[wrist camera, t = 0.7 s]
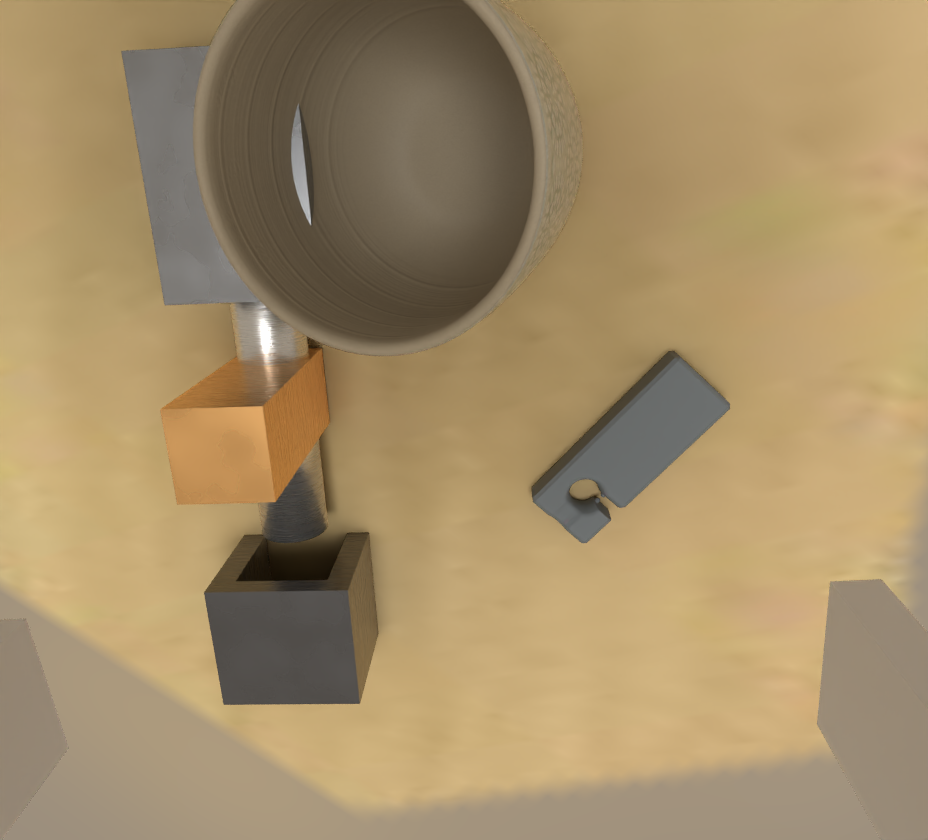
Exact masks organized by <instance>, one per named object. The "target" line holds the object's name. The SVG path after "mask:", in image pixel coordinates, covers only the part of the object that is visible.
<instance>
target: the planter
mask: <svg viewBox="0 0 928 840" xmlns="http://www.w3.org/2000/svg"><path fill="white" fill-rule="evenodd" d="M298 103H299V105H300V108H301V111H302V114H303V118H304V122H305V126H306V130H307V135H308V140H309V145H310V151H311V158H312V167H313V180H314V212H313V221H312V227H311V225H310V223H309V221H308V219H307V217H306V215H305V213H304V211H303V208H302V206H301V203H300V200H299V197H298V194H297V191H296V187H295V182H294V177H293V171H292V161H291V139H292V130H293V123H294V118H295V114H296V110H297V106H298ZM193 148H194V160H195V168H196V174H197V179H198V185H199V189H200V193H201V197H202V201H203V204H204V207H205V210H206V213H207V216H208V219H209V222H210V224H211V227H212V229H213V231H214V234H215V236H216V238H217V240H218V242H219V244H220V246H221V248H222V250H223V252H224V254H225V255H226V257H227V259H228V260H229V262H230V264H231V265H232V267H233V268H234V270H235V271H236V273H237V274H238V275H239V277H240V278H241V280H242V281H243V282H244V283H245V285H246V286H247V287H248V288H249V289H250V291H251V292H252V293H253V294H254V295H255V296H256V297H257V298H258V299H259V300H260V302H262V303H263V304H264V305H265V306H266V307H267V308H268V309H269V310H270V311H271V312H272V313H273V314H275V315H276V316H277V317H278V318H280V319H281V320H282V321H284V322H285V323H286V324H288V325H289V326H291V327H292V328H294V329H295V330H297V331H298V332H300V333H302V334H304V335H305V336H307V337H309V338H311V339H313V340H315V341H317V342H320V343H322V344H324V345H327V346H330V347H333V348H336V349H339V350H342V351H346V352H350V353H355V354H361V355H370V356H397V355H405V354H411V353H416V352H420V351H424V350H427V349H430V348H433V347H436V346H439V345H441V344H443V343H446V342H448V341H450V340H452V339H454V338H455V337H457V336H459V335H461V334H462V333H464V332H466V331H467V330H469V329H470V328H472V327H473V326H475V325H476V324H477V323H479V322H480V321H481V320H483V319H484V318H485V317H487V316H488V315H489V314H490V313H492V312H493V311H494V310H495V309H496V308H497V307H498V306H499V305H501V304H502V303H503V302H504V301H505V300H506V299H507V298H508V297H509V296H510V295H511V294H512V293H513V292H514V291H515V290H516V289H517V288H518V287H519V286H520V285H521V284H522V283H523V282H524V280H525V279H526V278H527V277H528V276H529V275H530V273H531V272H532V271H533V270H534V269H535V268H536V266H537V265H538V264H539V263H540V262H541V260H542V259H543V258H544V257H545V255H546V254H547V253H548V251H549V250H550V248H551V247H552V245H553V244H554V242H555V241H556V239H557V238H558V236H559V234H560V233H561V231H562V229H563V227H564V225H565V223H566V221H567V218H568V216H569V214H570V212H571V209H572V207H573V204H574V201H575V198H576V195H577V191H578V187H579V183H580V177H581V171H582V161H583V138H582V128H581V121H580V116H579V111H578V107H577V104H576V100H575V97H574V94H573V92H572V89H571V87H570V84H569V82H568V80H567V78H566V76H565V74H564V72H563V70H562V68H561V67H560V65H559V63H558V62H557V60H556V59H555V57H554V55H553V54H552V52H551V51H550V50H549V48H548V47H547V46H546V44H545V43H544V42H543V41H542V39H541V38H540V37H539V36H538V35H537V34H536V33H535V32H534V31H533V30H532V28H531V27H530V26H529V25H528V24H527V23H526V22H525V21H524V20H522V19H521V18H520V17H519V16H518V15H517V14H516V13H514V12H513V11H512V10H511V9H510V8H508V7H507V6H506V5H505V4H504V3H503V2H501V1H500V0H236V1H235V3H234V4H233V5H232V7H231V8H230V10H229V11H228V13H227V14H226V16H225V17H224V19H223V21H222V22H221V24H220V26H219V28H218V29H217V31H216V33H215V35H214V37H213V40H212V42H211V44H210V47H209V49H208V52H207V54H206V57H205V60H204V63H203V66H202V70H201V73H200V78H199V82H198V87H197V92H196V98H195V106H194V117H193Z"/></svg>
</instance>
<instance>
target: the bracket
mask: <svg viewBox="0 0 928 840" xmlns="http://www.w3.org/2000/svg"><path fill="white" fill-rule="evenodd" d="M729 409H730V404H729V402H728V401H727V400H726V399H725V398H724V397H723V396H721V395H720V394H719V393H718V392H717V391H716V390H715V389H714V388H713V387H712V386H711V385H710V384H709V383H708V382H707V381H706V380H704V379H703V378H702V377H701V376H700V375H699V374H698V373H697V372H696V371H695V370H694V369H693V368H692V367H691V366H690V365H688V364H687V363H686V362H685V361H684V360H683V359H682V358H681V357H680V356H679V355H678V354H677V353H676V352H674V351H669V352H668V353H667V354H666V355H665V356H664V357H663V358H662V359H661V360H660V361H659V362H658V363H657V364H656V365H655V366H654V367H653V368H652V369H651V370H649V371H648V372H647V373H646V374H645V375H644V376H643V377H642V378H641V379H640V380H639V381H638V382H637V383H636V384H635V385H634V386H633V387H632V388H631V389H630V390H629V391H628V392H627V393H626V394H625V395H624V396H623V397H622V398H621V399H620V400H619V401H618V402H617V403H616V404H615V405H614V406H613V407H612V408H611V409H610V410H609V411H608V412H607V413H606V414H605V415H604V416H603V417H602V418H601V419H600V420H599V421H598V422H597V423H596V424H595V425H594V426H593V427H592V428H591V429H590V430H589V431H588V432H587V433H586V434H585V435H584V436H583V437H582V438H581V439H580V440H579V441H578V442H577V443H576V444H575V445H574V446H573V447H572V448H571V449H570V450H569V451H568V452H567V453H566V454H565V455H564V456H563V457H562V458H561V459H560V460H559V461H558V462H557V463H556V464H555V465H554V466H553V467H551V468H550V469H549V470H548V471H547V472H546V473H545V474H544V475H543V476H542V477H541V478H540V479H539V480H538V481H537V482H536V483H535V484H534V485H533V486H532V497H533V502H534V503H535V504H536V505H537V506H538V507H540V508H541V509H542V510H543V511H544V512H546V513H547V514H548V515H550V516H552V517H553V518H555V519H556V520H557V521H558V522H559V523H560V524H561V525H562V526H563V527H564V528H565V529H566V530H567V531H568V532H569V533H570V534H572V535H573V536H574V537H575V538H576V539H578V540H579V541H580V542H581V543H587V542H588V541H589V540H590V539H591V538H592V537H594V536H595V535H596V534H597V533H598V532H599V531H600V530H601V529H602V528H603V527H604V526H605V525H606V524H607V523H608V522H610V521H611V518H610V514H609V511H608V509H607V508H606V507H605V506H604V505H603V504H602V503H601V502H600V499H599V498H595V497H592V498H590V499H588V500H576V499H574V498H572V497H571V496H570V494H569V489H570V487H571V486H572V484H574V483H575V482H577V481H579V480H582V479H590V480H593V481H595V482H596V483H597V484H598V487H599V489H600V491H601V492H602V493H601V496H602V497H605V496H606V497H607V498H608V499H609V500H610V501H612V502H613V503H614V504H615V505H616V506H617V507H620V508H622V507H626V506H627V505H628V504H629V503H630V502H631V501H632V500H633V499H634V498H635V497H636V496H637V495H638V494H639V493H640V492H642V491H643V490H644V489H645V488H646V487H647V486H648V485H649V484H650V483H651V482H652V481H653V480H654V479H655V478H657V477H658V476H659V475H660V474H661V473H662V472H663V471H664V470H665V469H666V468H667V467H668V466H669V465H670V464H671V463H673V462H674V461H675V460H676V459H677V458H678V457H679V456H680V455H681V454H682V453H683V452H684V451H685V450H686V449H687V448H689V447H690V446H691V445H692V444H693V443H694V442H695V441H696V440H697V439H698V438H699V437H700V436H701V435H702V434H703V433H705V432H706V431H707V430H708V429H709V428H710V427H711V426H712V425H713V424H714V423H715V422H716V421H717V420H718V419H720V418H721V417H722V416H723V415H724V414H725V413H726V412H727V411H728V410H729Z"/></svg>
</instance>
